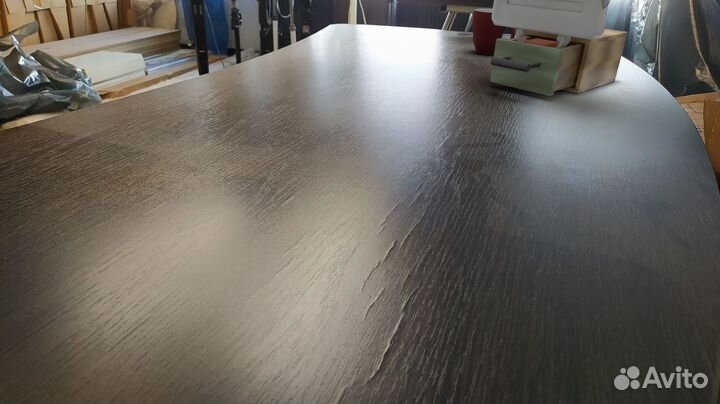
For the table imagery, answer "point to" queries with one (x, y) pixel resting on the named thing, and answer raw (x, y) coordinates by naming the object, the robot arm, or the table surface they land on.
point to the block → (542, 42)
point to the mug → (486, 31)
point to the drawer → (536, 65)
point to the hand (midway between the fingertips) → (538, 57)
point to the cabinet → (596, 59)
